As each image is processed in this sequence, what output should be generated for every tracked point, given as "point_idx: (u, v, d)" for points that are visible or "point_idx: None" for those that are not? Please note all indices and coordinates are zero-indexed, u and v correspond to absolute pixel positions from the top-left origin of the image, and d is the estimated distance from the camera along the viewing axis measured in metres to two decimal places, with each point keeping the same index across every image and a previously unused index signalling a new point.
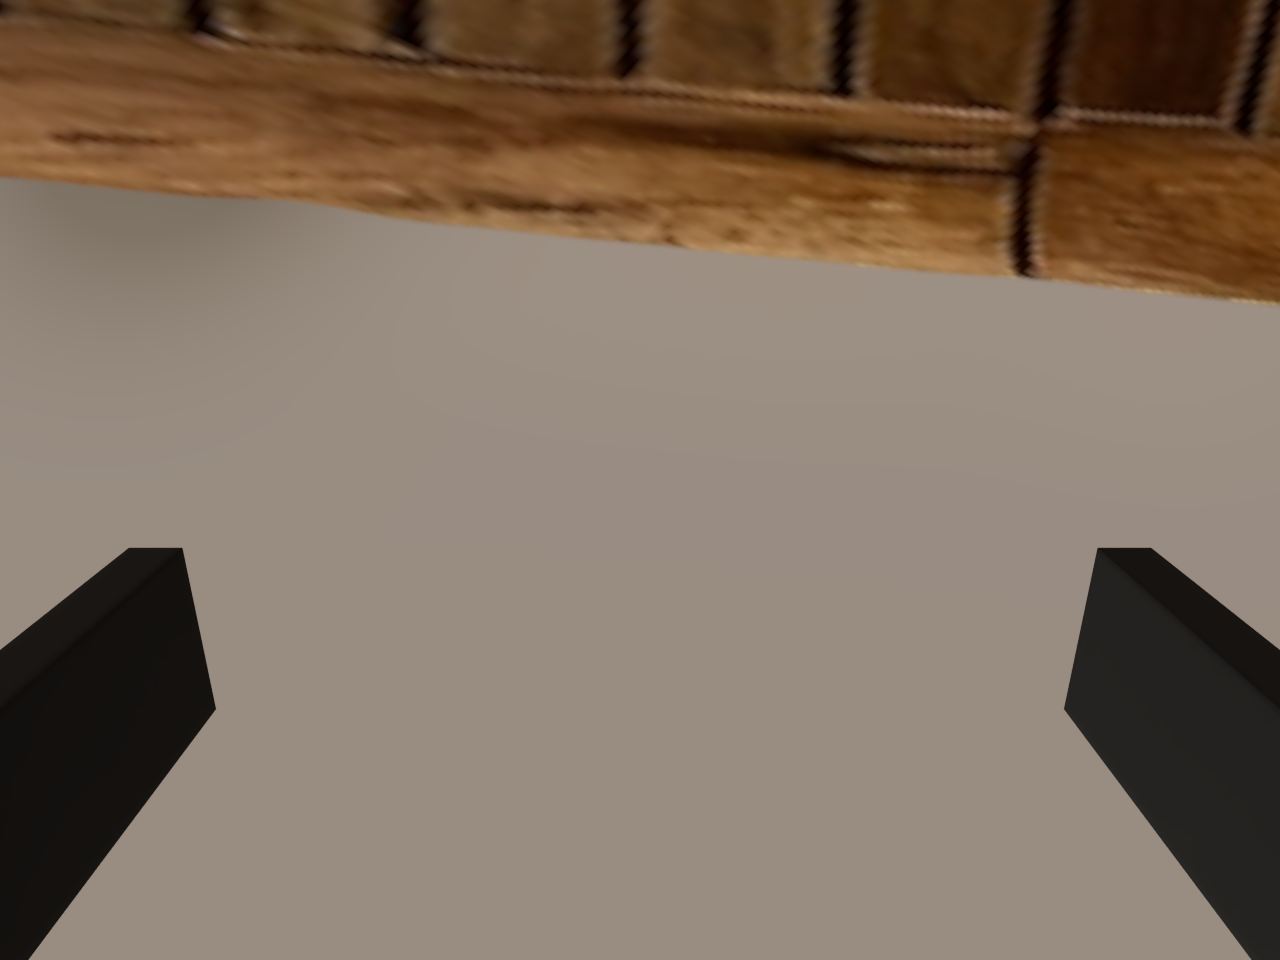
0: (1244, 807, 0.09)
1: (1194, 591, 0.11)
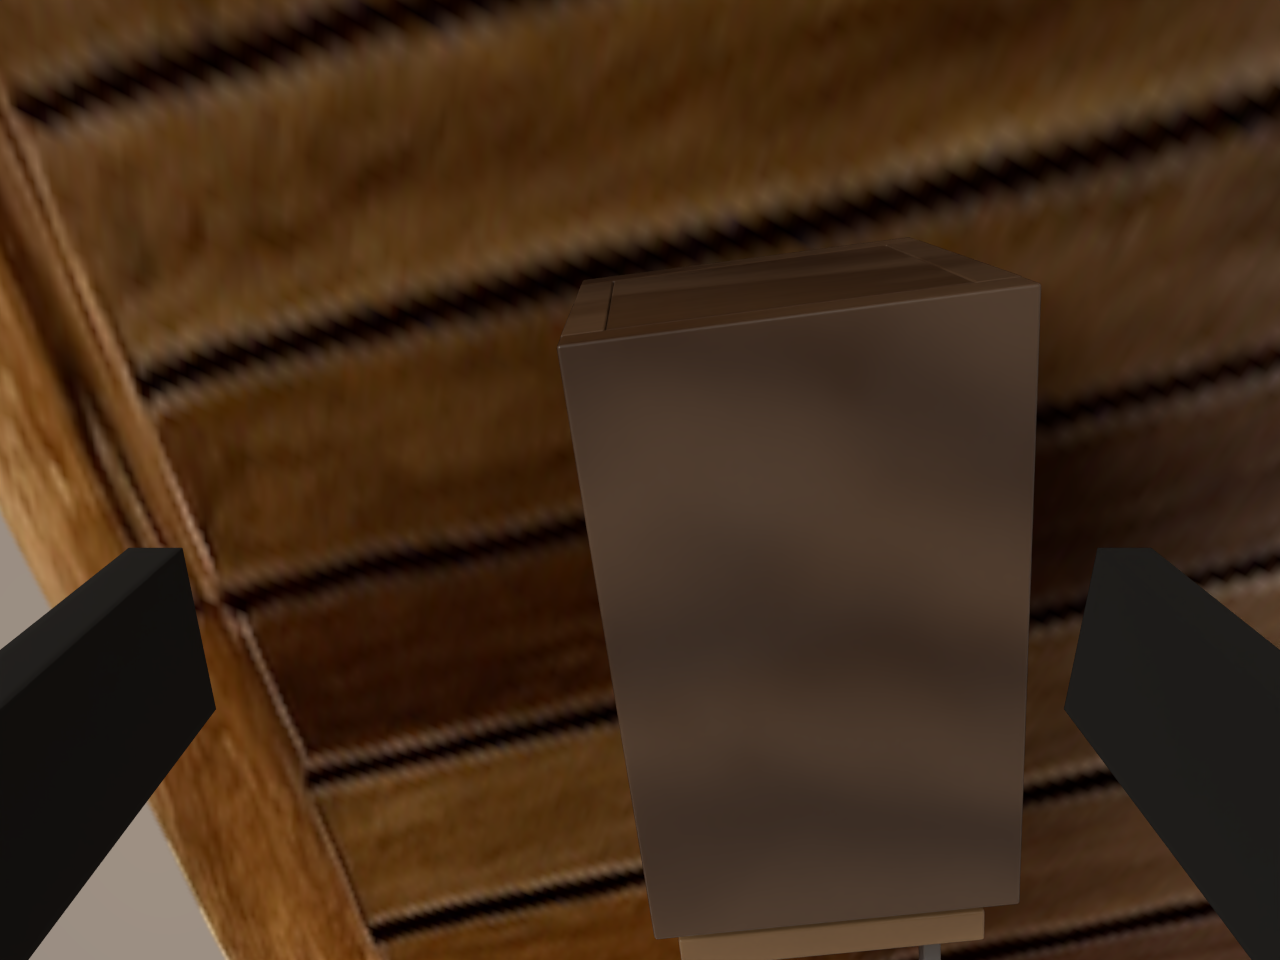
0: (1244, 807, 0.09)
1: (1194, 591, 0.11)
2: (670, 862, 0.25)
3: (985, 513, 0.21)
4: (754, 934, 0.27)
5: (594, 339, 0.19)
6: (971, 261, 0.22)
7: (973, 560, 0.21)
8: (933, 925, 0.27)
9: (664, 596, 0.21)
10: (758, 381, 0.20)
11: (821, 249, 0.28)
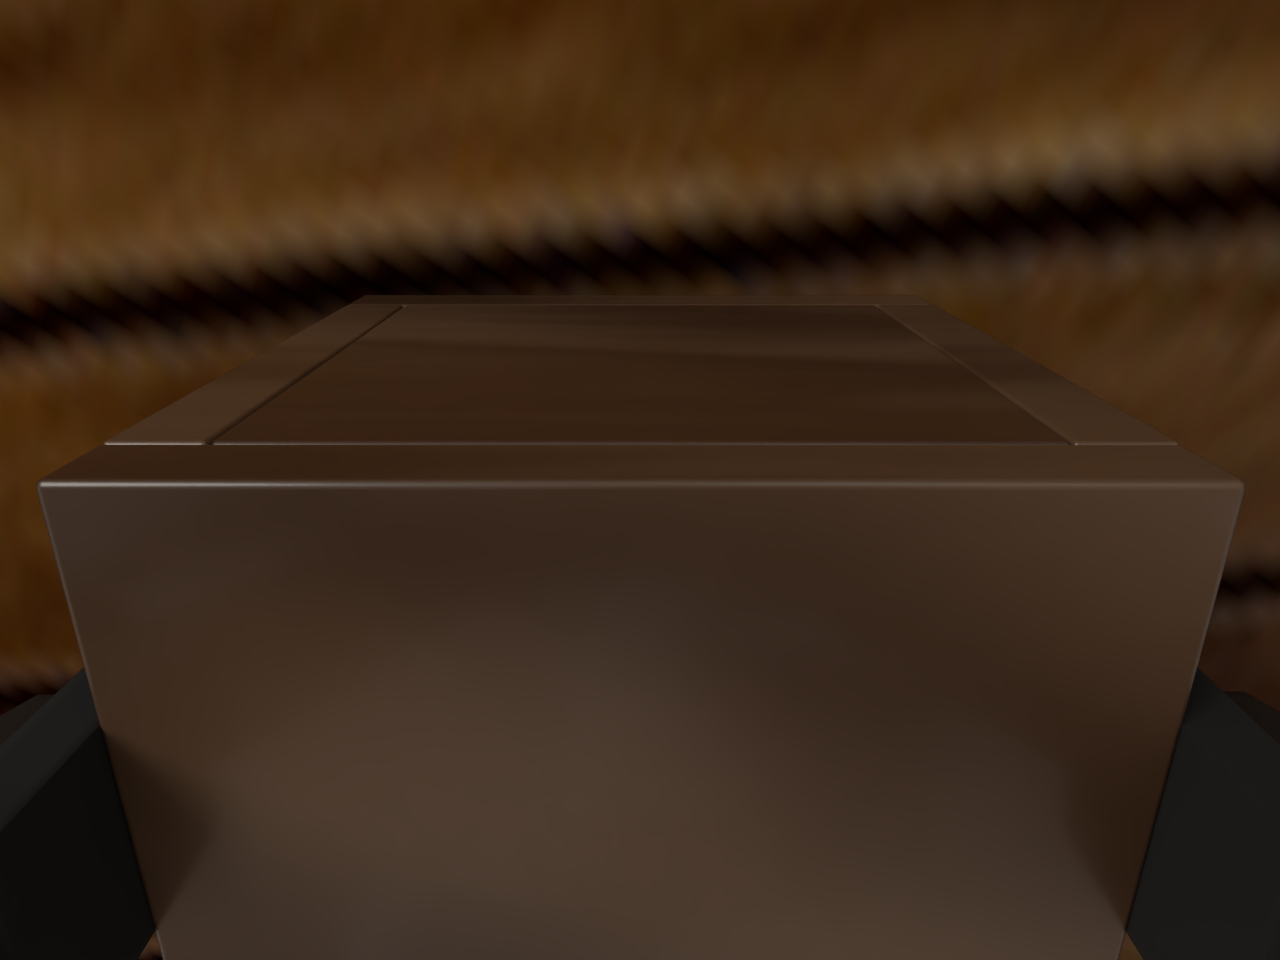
0: None
1: None
2: None
3: (1022, 935, 0.09)
4: None
5: (135, 475, 0.08)
6: (1043, 372, 0.11)
7: None
8: None
9: None
10: (538, 621, 0.08)
11: (768, 296, 0.16)
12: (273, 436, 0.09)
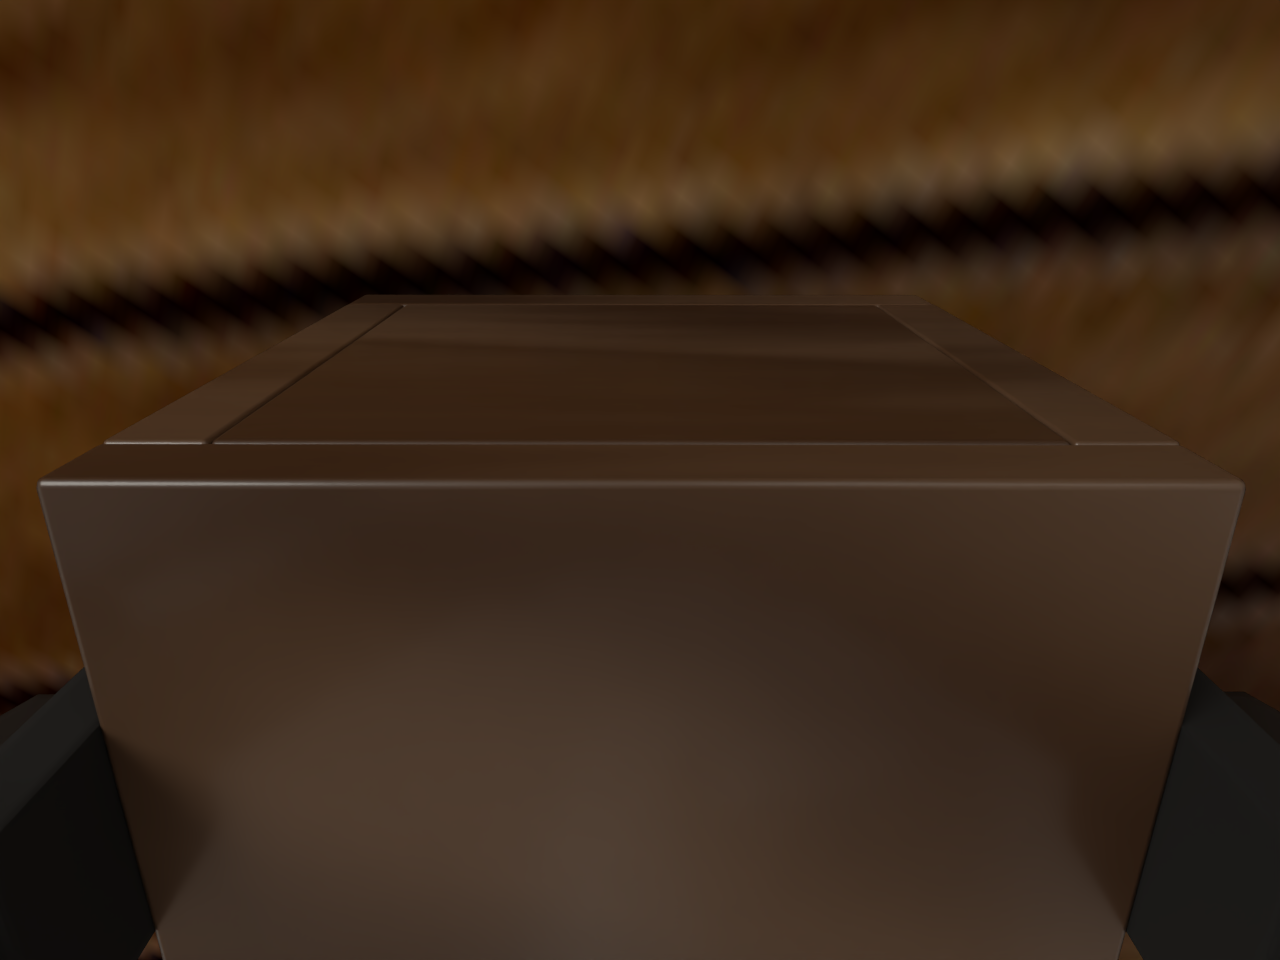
0: None
1: None
2: None
3: (1022, 935, 0.09)
4: None
5: (135, 474, 0.08)
6: (1043, 373, 0.11)
7: None
8: None
9: None
10: (538, 620, 0.08)
11: (769, 296, 0.16)
12: (273, 435, 0.09)
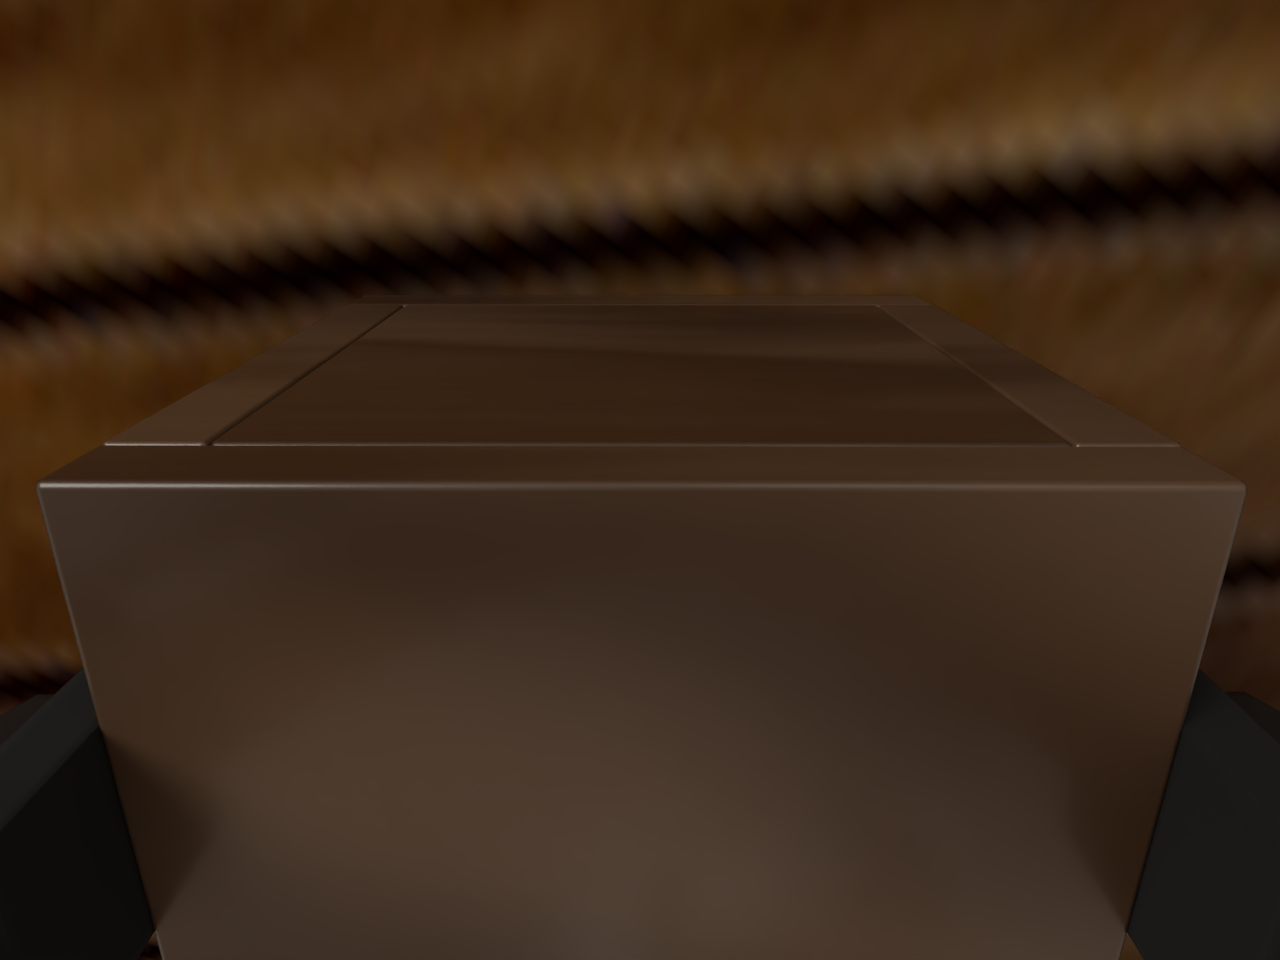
0: None
1: None
2: None
3: (1022, 937, 0.09)
4: None
5: (135, 476, 0.08)
6: (1044, 373, 0.11)
7: None
8: None
9: None
10: (538, 622, 0.08)
11: (769, 296, 0.16)
12: (273, 437, 0.09)
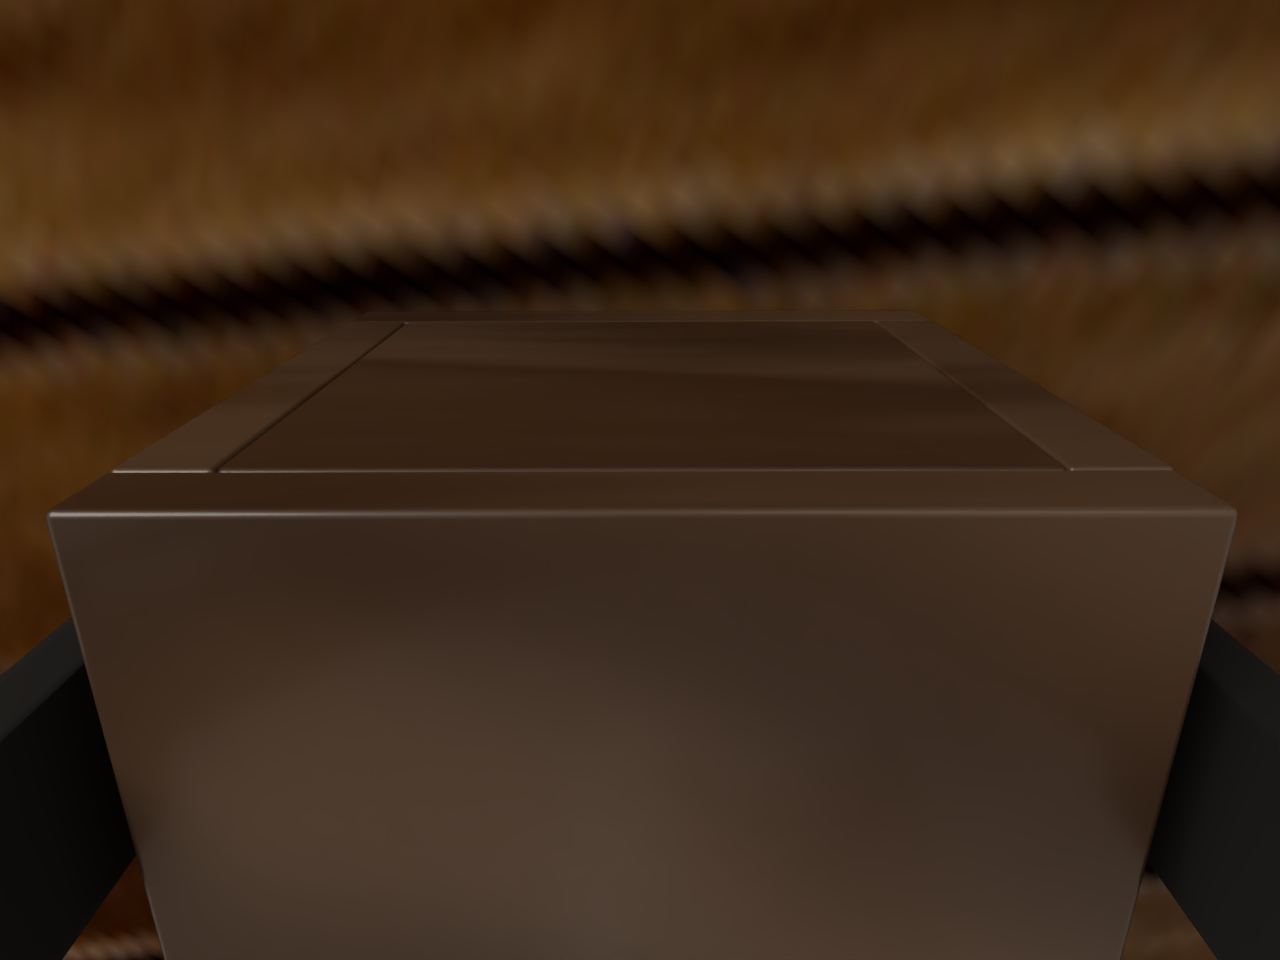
0: (1194, 788, 0.10)
1: None
2: None
3: (1020, 953, 0.10)
4: None
5: (143, 505, 0.08)
6: (1039, 393, 0.11)
7: None
8: None
9: None
10: (541, 647, 0.08)
11: (767, 312, 0.17)
12: (278, 463, 0.09)
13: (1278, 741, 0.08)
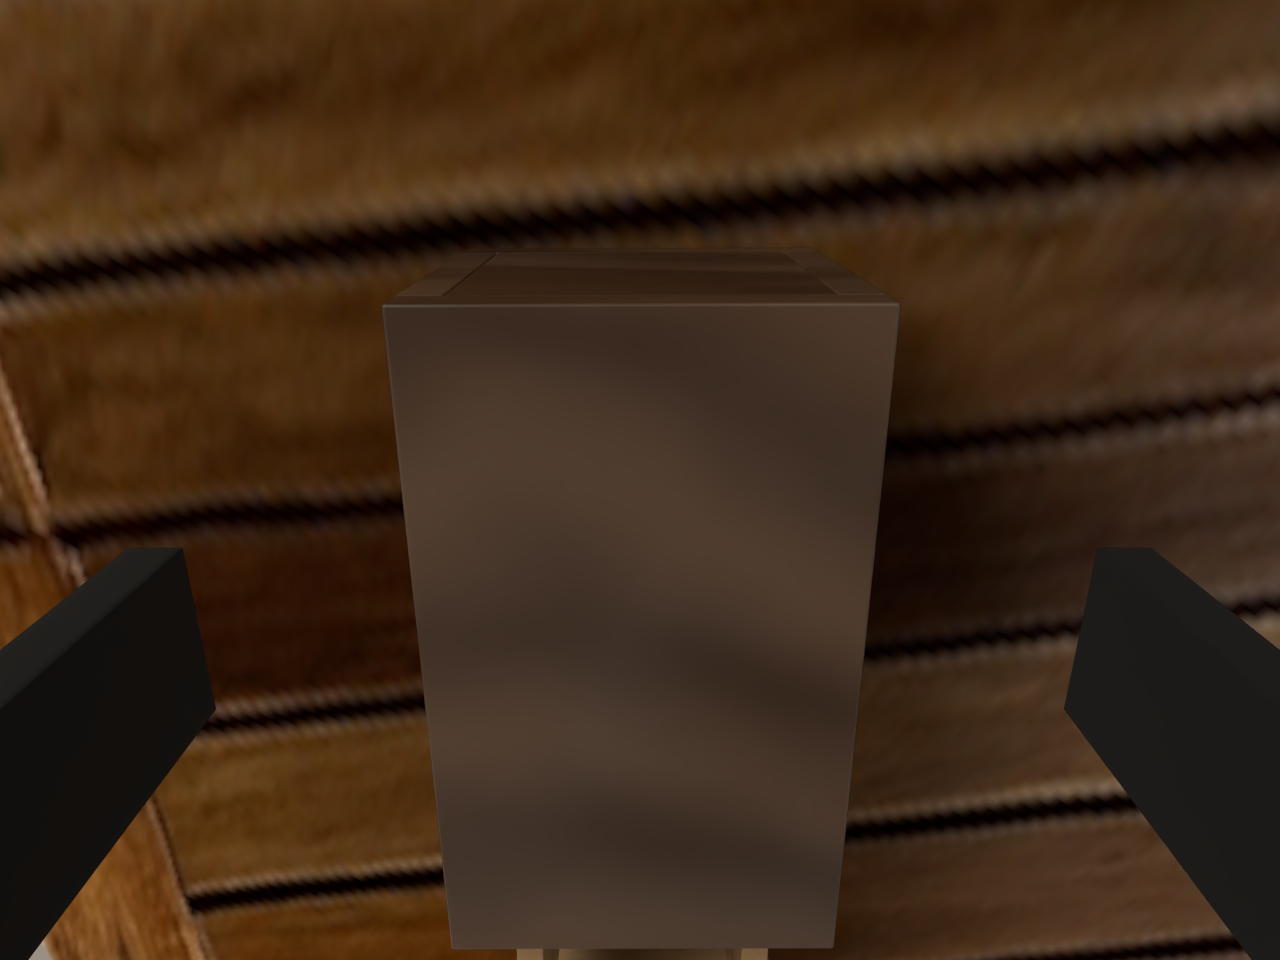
0: (1243, 807, 0.09)
1: (1194, 591, 0.11)
2: (472, 870, 0.23)
3: (825, 539, 0.20)
4: None
5: (423, 302, 0.18)
6: (850, 275, 0.21)
7: (809, 587, 0.20)
8: None
9: (482, 588, 0.20)
10: (596, 370, 0.18)
11: (719, 248, 0.27)
12: (471, 294, 0.19)
13: None
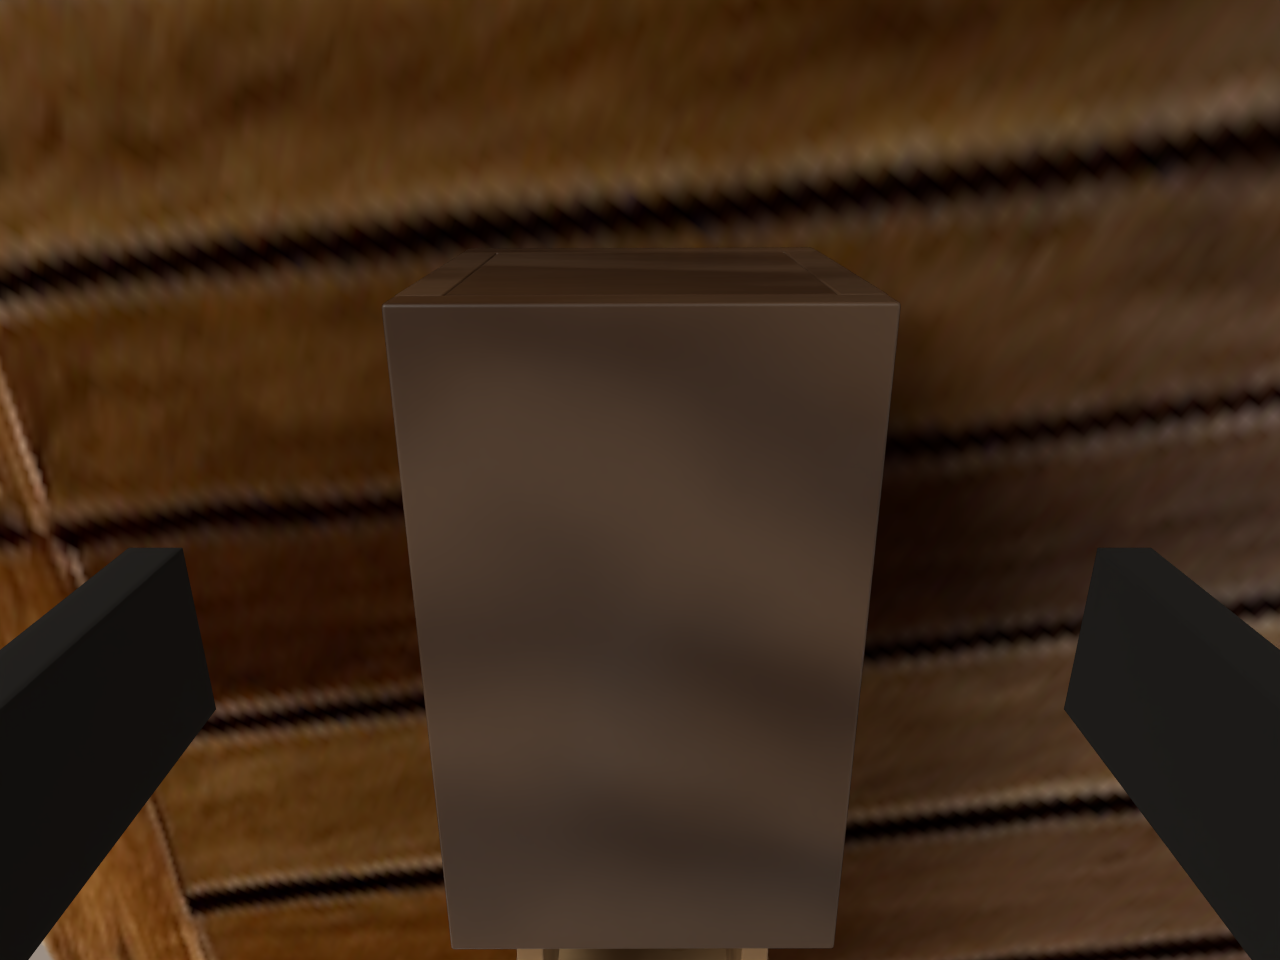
0: (1243, 807, 0.09)
1: (1194, 591, 0.11)
2: (472, 870, 0.23)
3: (825, 539, 0.20)
4: None
5: (423, 302, 0.18)
6: (850, 275, 0.21)
7: (809, 587, 0.20)
8: None
9: (482, 588, 0.20)
10: (596, 370, 0.18)
11: (719, 248, 0.27)
12: (471, 293, 0.19)
13: None
